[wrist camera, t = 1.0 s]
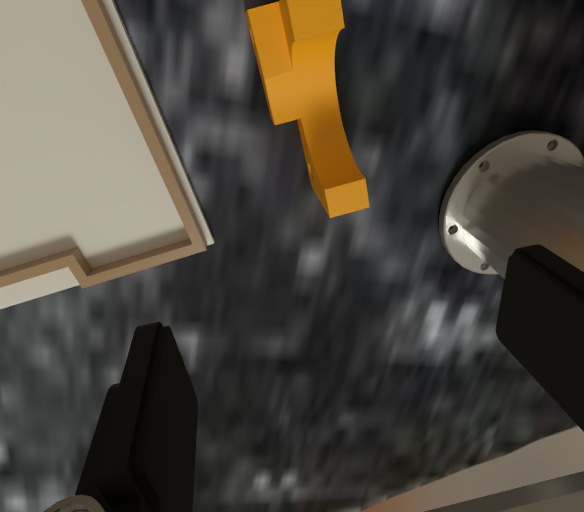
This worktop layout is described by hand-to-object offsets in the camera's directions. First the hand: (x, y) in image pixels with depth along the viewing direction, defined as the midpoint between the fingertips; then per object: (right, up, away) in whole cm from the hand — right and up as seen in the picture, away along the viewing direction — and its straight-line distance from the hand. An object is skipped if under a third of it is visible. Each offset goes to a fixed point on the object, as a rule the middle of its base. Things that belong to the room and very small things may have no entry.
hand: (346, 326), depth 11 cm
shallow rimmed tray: (-20, +8, +15) cm, 27 cm away
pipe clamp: (-1, +13, +17) cm, 21 cm away
